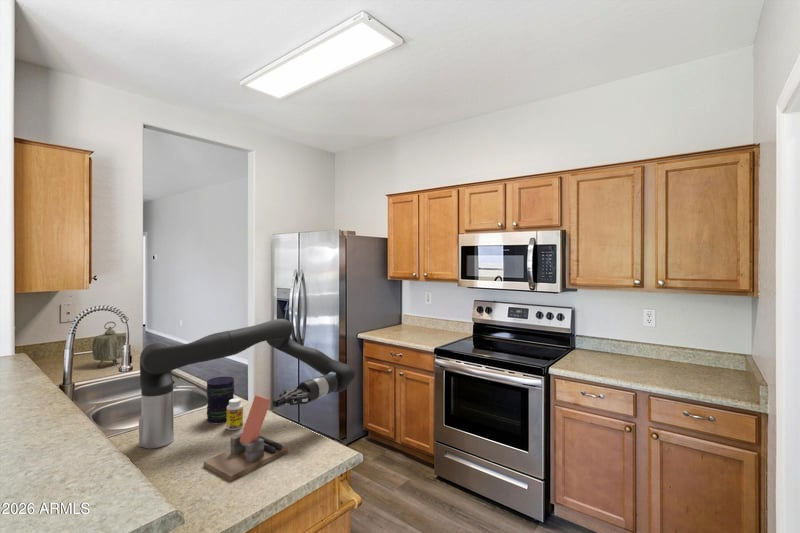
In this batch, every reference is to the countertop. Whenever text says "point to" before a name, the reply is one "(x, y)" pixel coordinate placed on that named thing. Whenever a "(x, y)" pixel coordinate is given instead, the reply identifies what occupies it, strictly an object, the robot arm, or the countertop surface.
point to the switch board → (244, 457)
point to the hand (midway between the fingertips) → (274, 403)
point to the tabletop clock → (108, 346)
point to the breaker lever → (254, 420)
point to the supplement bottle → (234, 414)
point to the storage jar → (219, 398)
